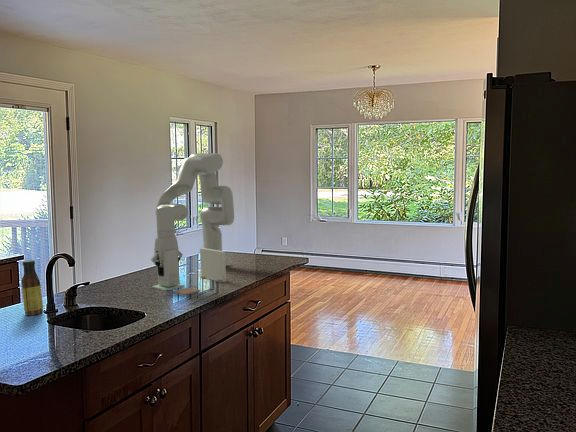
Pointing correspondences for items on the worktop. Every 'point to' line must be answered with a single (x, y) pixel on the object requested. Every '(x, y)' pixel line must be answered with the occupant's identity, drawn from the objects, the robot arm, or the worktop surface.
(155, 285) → the green pad
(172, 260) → the skincare box
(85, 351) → the worktop surface
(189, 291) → the terracotta tile
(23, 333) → the worktop surface
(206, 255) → the screen
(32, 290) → the sauce bottle
